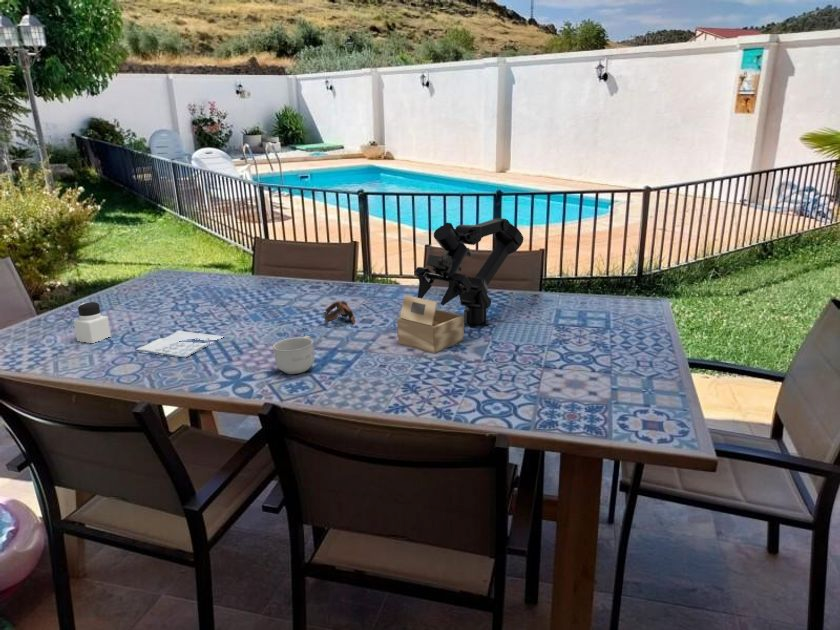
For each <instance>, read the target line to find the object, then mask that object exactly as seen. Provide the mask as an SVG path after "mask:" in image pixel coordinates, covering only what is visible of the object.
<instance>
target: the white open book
mask: <svg viewBox="0 0 840 630" xmlns="http://www.w3.org/2000/svg"><path fill="white" fill-rule="evenodd" d="M223 337H224V338H225V336H223V335H216V334H207V333H199V332H190V331H183V330H177V331H176V332H173V333H172V334H170V335H168V336H165V337H163V338H161V337H158V338H157V339H156V340H153V341H150V342H149V343H148V344H145V345H142V346H140V347H138V348H136V350H139V351H145V352H151V353H158V354H163V355H170V356H177V357H176V358H178V357H187V358H189V357H190V355H191V354H193V353H194V354H195V352H196V351H198V350H200V349H202V348H204V347H206V348H208V347H207V346H208V344H211V343H213V342H208V343H193V342H179V341H182V340H187V339H195V340H196V339H197V340H199V339H200V340H204V341H209V340H217V339H221V338H223ZM224 338H223V339H224ZM221 340H222V339H221ZM204 349H205V348H204ZM202 350H203V349H202ZM200 351H201V350H200ZM198 352H199V351H198ZM196 353H197V352H196ZM194 354H193V355H194ZM163 355H162V356H163ZM170 356H169V357H170ZM188 356H189V357H188ZM191 356H192V355H191Z"/></svg>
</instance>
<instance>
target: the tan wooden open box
mask: <svg viewBox="0 0 840 630" xmlns="http://www.w3.org/2000/svg"><path fill="white" fill-rule="evenodd" d="M396 326H397V327H396V328H397V329H396V330H397V338H398V345H399V344H400V345H403V346H406V347H410V348H414V349H417V350H420V351H423V352H427V353H430V354H436V353H438V352H440V351H443V350H445V349H447V348H449V347H453V346H455V345H457V344H459V343H461V342H463V341H464V335H465V334H464V333H465V332H464V331H465V329H464V328H465V327H464V326H465V323H464V314H463V315H462V314H458V313H453V312H449V311H445V310H441V309H437V308H436V310H435V315H434V320H433V324H432V326H431V325H427V324H423V323H419V322H415V321H411V320H407V319H403V318H400V316H399V317H397V318H396Z"/></svg>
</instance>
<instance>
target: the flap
mask: <svg viewBox="0 0 840 630" xmlns="http://www.w3.org/2000/svg"><path fill="white" fill-rule="evenodd" d="M417 297H418V296H417ZM417 297H416V296H412V295H407V294H404V297H403V301H402V307H401V310H400V311H401V312H400V316H399V317H400V318H403V319H407V320H411V321H415V322H419V323H423V324H427V325H431V326H432V324H433V320H434V315H435V310H436V309H437V305H438V301H434V300H430V299H426V298H422V299H421V298H417Z"/></svg>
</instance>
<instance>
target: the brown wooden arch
mask: <svg viewBox="0 0 840 630" xmlns="http://www.w3.org/2000/svg"><path fill="white" fill-rule="evenodd" d="M334 309H335V310H334ZM331 311H332V312H331ZM338 315H339V316H341V318H346V317H348V319H349V320H350V321H351V323H352V325H355V323H356V318H355V315H354V314H353V311H352V309H351V308H350V307H349V305H348V303H347V302H346V301H336V302H333V303H331V304H330V305H328V306H327V308H326V309H325V310H324V312H323V316H324V320H325V321H324V322H326V323H327V324H328V323H329V322H332V321H335V320H336V321H339V318H338Z"/></svg>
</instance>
